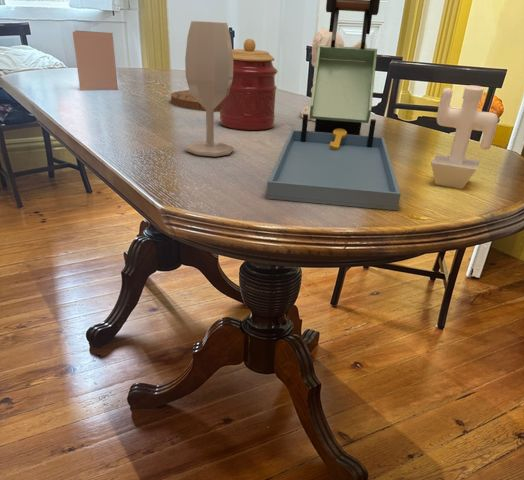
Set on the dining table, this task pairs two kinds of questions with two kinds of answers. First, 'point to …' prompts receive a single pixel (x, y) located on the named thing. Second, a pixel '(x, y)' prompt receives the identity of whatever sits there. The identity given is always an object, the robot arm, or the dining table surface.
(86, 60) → the greeting card
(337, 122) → the stand
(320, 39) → the cherub figurine
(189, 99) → the trivet
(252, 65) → the kitchen canister
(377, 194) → the tray
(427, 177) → the dining table surface
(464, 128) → the figurine
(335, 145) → the key
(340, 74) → the green dustpan
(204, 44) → the wineglass
